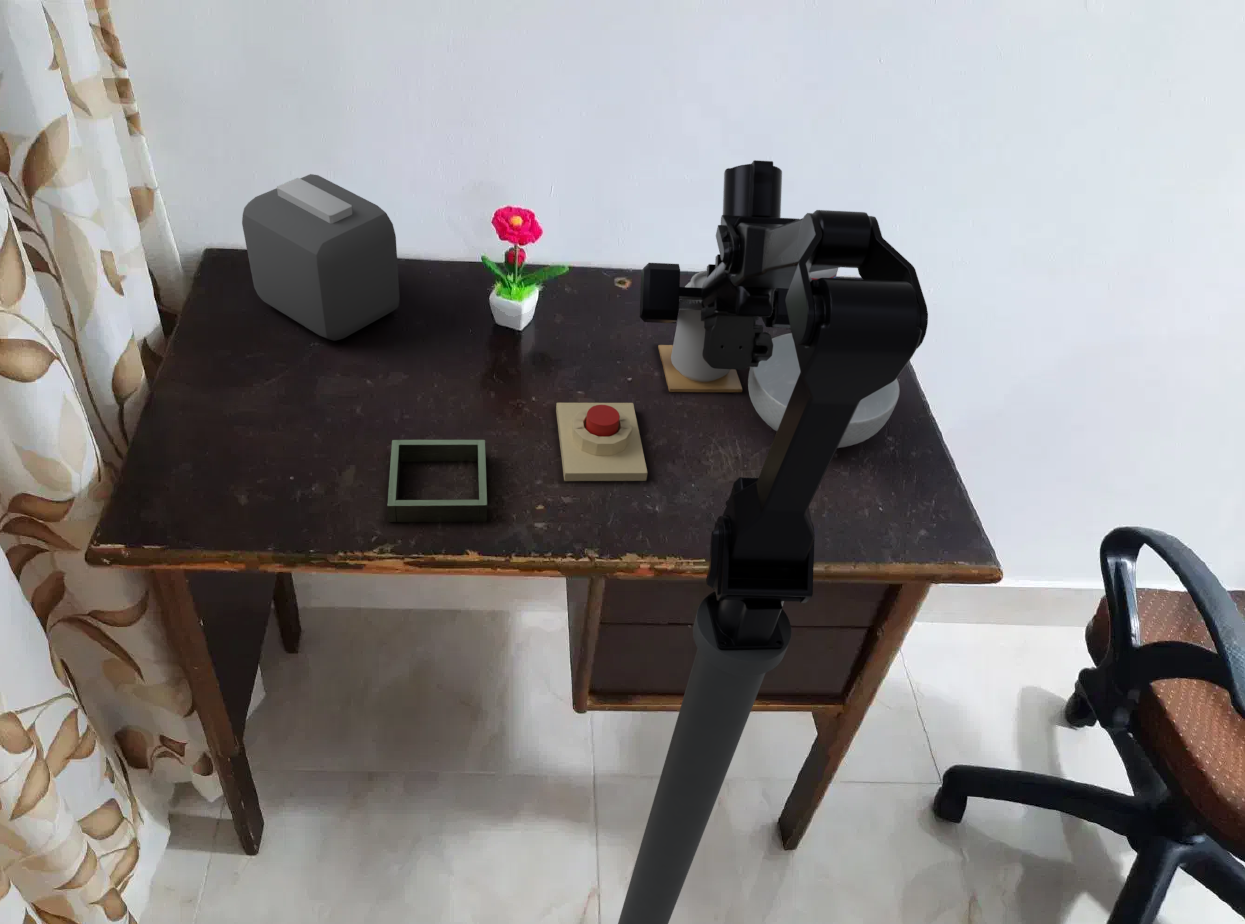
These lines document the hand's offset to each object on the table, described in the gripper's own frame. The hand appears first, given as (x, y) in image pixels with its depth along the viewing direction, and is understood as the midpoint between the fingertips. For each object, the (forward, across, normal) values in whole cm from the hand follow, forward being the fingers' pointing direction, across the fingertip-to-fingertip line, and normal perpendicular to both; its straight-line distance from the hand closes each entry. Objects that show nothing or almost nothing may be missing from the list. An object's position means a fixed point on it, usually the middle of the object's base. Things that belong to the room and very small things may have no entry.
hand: (708, 311), depth 113 cm
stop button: (-8, -13, -15) cm, 21 cm away
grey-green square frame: (-12, -31, -22) cm, 40 cm away
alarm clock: (+11, -48, 0) cm, 49 cm away
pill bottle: (+14, +15, +2) cm, 21 cm away
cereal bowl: (-2, +12, -13) cm, 18 cm away
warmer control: (-6, -13, -17) cm, 22 cm away
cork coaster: (+4, 0, -6) cm, 8 cm away
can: (+4, 0, -6) cm, 7 cm away
